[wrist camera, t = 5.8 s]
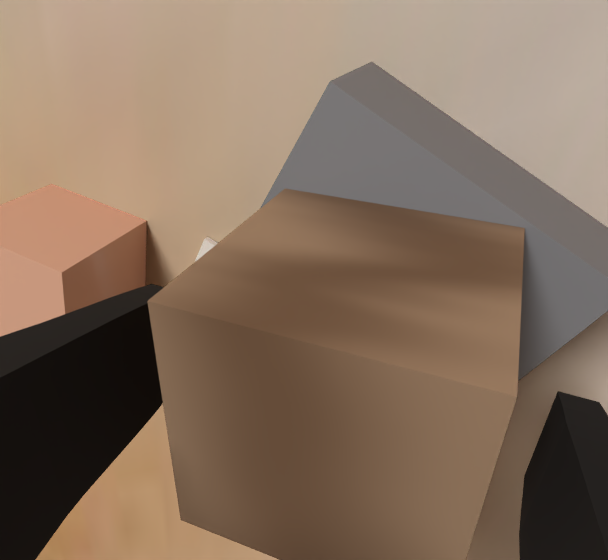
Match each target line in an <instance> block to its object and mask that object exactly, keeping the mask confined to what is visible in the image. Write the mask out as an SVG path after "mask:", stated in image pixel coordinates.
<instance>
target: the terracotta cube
mask: <svg viewBox="0 0 608 560" xmlns="http://www.w3.org/2000/svg"><path fill="white" fill-rule="evenodd" d="M146 234H147V221H146V220H144V219H141V218H139V217H136V216H133V215H131V214H128V213H126V212H123V211H121V210H118V209H115V208H113V207H110V206H108V205H105V204H102V203H100V202H97V201H95V200H92V199H90V198H87V197H84V196H82V195H79V194H77V193H74V192H71V191H69V190H66V189H64V188H61V187H59V186H56V185H53V184H50V185H48V186H45V187H43V188H40V189H38V190H36V191H33V192H31V193H28V194H26V195H23V196H21V197H19V198H16V199H14V200H11V201H9V202H6V203H4V204H2V205H0V336H3V335H6V334H9V333H12V332H15V331H18V330H21V329H24V328H27V327H30V326H33V325H36V324H39V323H42V322H45V321H48V320H51V319H53V318H56V317H59V316H61V315H64V314H67V313H70V312H72V311H75V310H78V309H80V308H83V307H86V306H89V305H91V304H94V303H97V302H99V301H102V300H105V299H108V298H110V297H113V296H116V295H119V294H122V293H124V292H127V291H130V290H133V289H136V288H140V287H143V286H145V276H146Z"/></svg>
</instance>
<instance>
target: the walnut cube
mask: <svg viewBox="0 0 608 560" xmlns="http://www.w3.org/2000/svg"><path fill="white" fill-rule="evenodd" d="M524 232H525V228H522V227H516V226H510V225H504V224H498V223H491V222H485V221H479V220H473V219H467V218H461V217H455V216H449V215H443V214H437V213H431V212H425V211H419V210H413V209H407V208H401V207H394V206H388V205H382V204H376V203H370V202H364V201H358V200H352V199H346V198H340V197H334V196H328V195H322V194H316V193H310V192H304V191H298V190H291V189H284V190H282V191H281V192H280V193H279V194H278V195H276V196H275V197H274V198H273V199H271V200H270V201H269V202H268V203H267V204H265V205H264V206H263V207H262V208H260V209H259V210H258V211H257V212H256V213H254V214H253V215H252V216H251V217H249V218H248V219H247V220H246V221H245V222H243V223H242V224H241V225H240V226H238V227H237V228H236V229H235V230H234V231H232V232H231V233H230V234H229V235H227V236H226V237H225V238H224V239H223V240H221V241H220V242H219V243H218V244H216V245H215V246H214V247H213V248H212V249H210V250H209V251H208V252H207V253H205V254H204V255H203V256H202V257H201V258H199V259H198V260H197V261H196V262H194V263H193V264H192V265H191V266H190V267H188V268H187V269H186V270H185V271H183V272H182V273H181V274H180V275H179V276H177V277H176V278H175V279H174V280H172V281H171V282H170V283H169V284H168V285H166V286H165V287H164V288H163V289H161V290H160V291H159V292H158V293H157V294H155V295H154V296H153V297H152V298H150V299H149V300H148V301H147V302H148V309H149V315H150V322H151V328H152V335H153V341H154V348H155V354H156V361H157V368H158V374H159V381H160V387H161V394H162V400H163V407H164V413H165V420H166V426H167V433H168V439H169V446H170V453H171V459H172V466H173V472H174V479H175V485H176V492H177V498H178V505H179V511H180V518H181V520H182V521H185V522H187V523H190V524H192V525H195V526H197V527H200V528H202V529H205V530H207V531H210V532H212V533H215V534H217V535H220V536H222V537H225V538H227V539H230V540H232V541H235V542H237V543H240V544H242V545H245V546H247V547H250V548H252V549H255V550H257V551H260V552H262V553H265V554H267V555H269V556H272V557H274V558H277V559H279V560H466V557H467V554H468V551H469V548H470V544H471V541H472V538H473V535H474V532H475V529H476V526H477V522H478V519H479V516H480V513H481V510H482V507H483V503H484V500H485V497H486V494H487V491H488V488H489V485H490V481H491V478H492V475H493V472H494V469H495V466H496V462H497V459H498V456H499V453H500V450H501V447H502V443H503V440H504V437H505V434H506V431H507V428H508V425H509V421H510V418H511V415H512V412H513V409H514V406H515V402H516V399H517V392H518V369H519V346H520V323H521V301H522V278H523V255H524Z"/></svg>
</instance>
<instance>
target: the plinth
mask: <svg viewBox="0 0 608 560" xmlns="http://www.w3.org/2000/svg"><path fill="white" fill-rule="evenodd" d="M284 189H291V190H298V191H304V192H310V193H316V194H322V195H328V196H334V197H340V198H346V199H352V200H358V201H364V202H370V203H376V204H382V205H388V206H394V207H401V208H407V209H413V210H419V211H425V212H431V213H437V214H443V215H449V216H455V217H461V218H467V219H473V220H479V221H485V222H491V223H498V224H504V225H510V226H516V227H522V228H525V232H524V255H523V278H522V301H521V323H520V346H519V369H518V381H519V380H520V379H521V378H523V377H524V376H525V375H526V374H528V373H529V372H530V371H532V370H533V369H534V368H535V367H537V366H538V365H539V364H540V363H542V362H543V361H544V360H546V359H547V358H548V357H549V356H551V355H552V354H553V353H555V352H556V351H557V350H558V349H560V348H561V347H562V346H564V345H565V344H566V343H567V342H569V341H570V340H571V339H572V338H574V337H575V336H576V335H578V334H579V333H580V332H581V331H583V330H584V329H585V328H587V327H588V326H589V325H590V324H592V323H593V322H594V321H595V320H597V319H598V318H599V317H601V316H602V315H603V314H604V313H606V312H607V311H608V228H607V227H606V226H605V225H603V224H602V223H600V222H599V221H597V220H596V219H595V218H593V217H592V216H590V215H589V214H588V213H586V212H585V211H583V210H582V209H580V208H579V207H578V206H576V205H575V204H573V203H572V202H571V201H569V200H568V199H566V198H565V197H563V196H562V195H561V194H559V193H558V192H556V191H555V190H553V189H552V188H551V187H549V186H548V185H546V184H545V183H544V182H542V181H541V180H539V179H538V178H536V177H535V176H534V175H532V174H531V173H529V172H528V171H526V170H525V169H524V168H522V167H521V166H519V165H518V164H517V163H515V162H514V161H512V160H511V159H509V158H508V157H507V156H505V155H504V154H502V153H501V152H500V151H498V150H497V149H495V148H494V147H492V146H491V145H490V144H488V143H487V142H485V141H484V140H482V139H481V138H480V137H478V136H477V135H475V134H474V133H473V132H471V131H470V130H468V129H467V128H465V127H464V126H463V125H461V124H460V123H458V122H457V121H455V120H454V119H453V118H451V117H450V116H448V115H447V114H446V113H444V112H443V111H441V110H440V109H438V108H437V107H436V106H434V105H433V104H431V103H430V102H429V101H427V100H426V99H424V98H423V97H421V96H420V95H419V94H417V93H416V92H414V91H413V90H411V89H410V88H409V87H407V86H406V85H404V84H403V83H402V82H400V81H399V80H397V79H396V78H394V77H393V76H392V75H390V74H389V73H387V72H386V71H385V70H383V69H382V68H380V67H379V66H377V65H376V64H375V63H373V62H370V63H368V64H366V65H364V66H362V67H359V68H357V69H355V70H353V71H351V72H349V73H347V74H345V75H342V76H340V77H338V78H336V79H334V80H332V81H330V82H329V84H328V86H327V88H326V90H325V91H324V93H323V95H322V97H321V99H320V100H319V102H318V104H317V106H316V108H315V110H314V111H313V113H312V115H311V117H310V119H309V120H308V122H307V124H306V126H305V128H304V130H303V131H302V133H301V135H300V137H299V139H298V140H297V142H296V144H295V146H294V148H293V150H292V151H291V153H290V155H289V157H288V159H287V161H286V162H285V164H284V166H283V168H282V170H281V171H280V173H279V175H278V177H277V179H276V181H275V182H274V184H273V186H272V188H271V190H270V191H269V193H268V195H267V197H266V199H265V201H264V202H263V204H262V206H261V208H262V207H263V206H264V205H265V204H267V203H268V202H269V201H270V200H271V199H273V198H274V197H275V196H276V195H278V194H279V193H280V192H281V191H282V190H284Z"/></svg>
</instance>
